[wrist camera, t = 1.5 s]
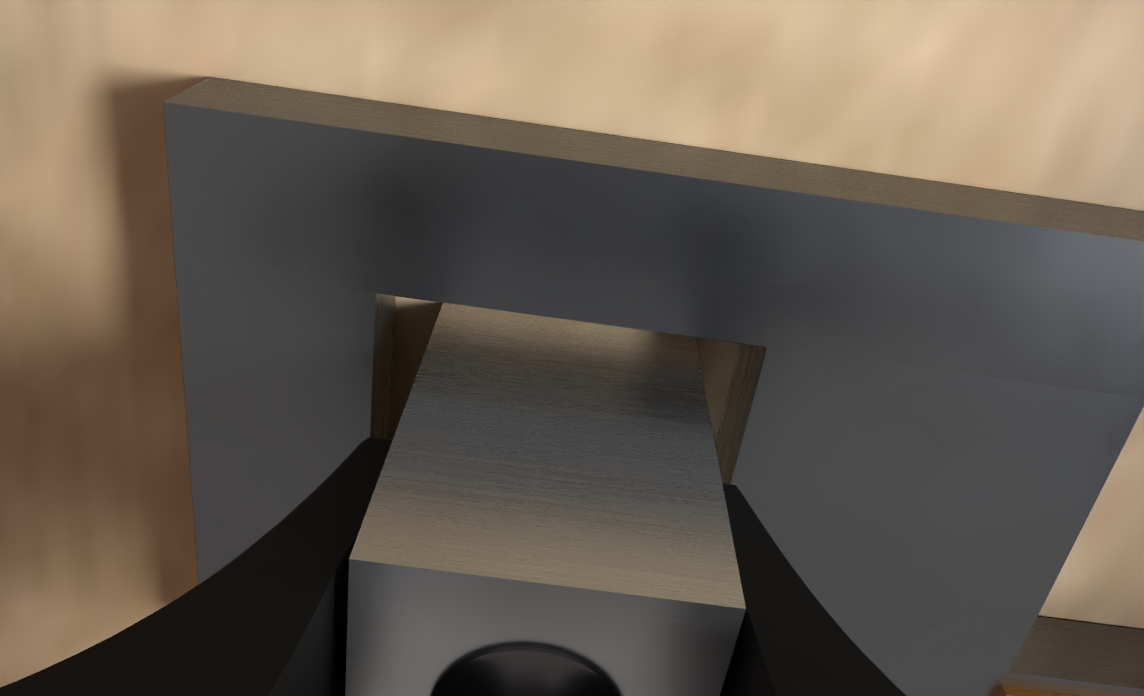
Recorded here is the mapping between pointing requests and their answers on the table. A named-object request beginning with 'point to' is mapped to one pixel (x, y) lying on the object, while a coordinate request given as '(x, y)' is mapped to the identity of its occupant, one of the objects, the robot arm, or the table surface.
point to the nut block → (546, 520)
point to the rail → (699, 309)
